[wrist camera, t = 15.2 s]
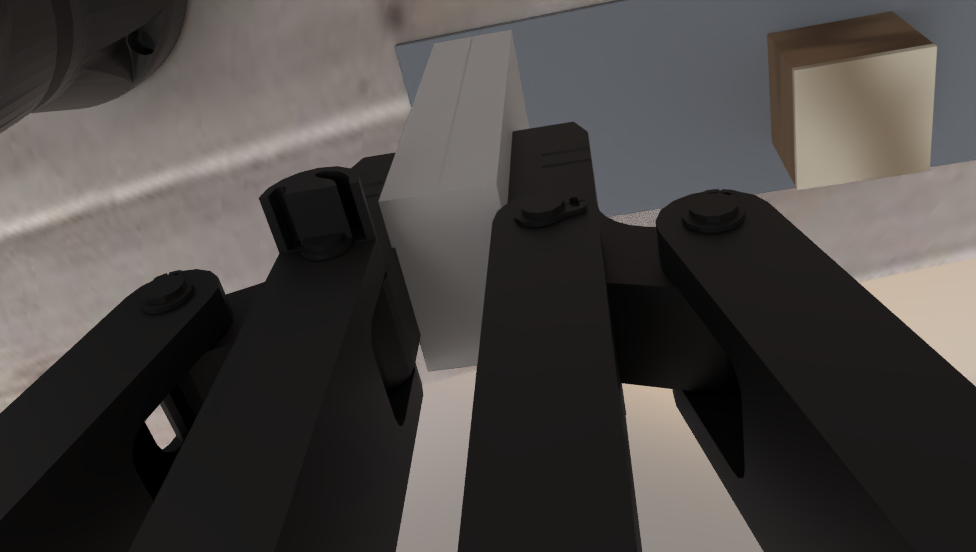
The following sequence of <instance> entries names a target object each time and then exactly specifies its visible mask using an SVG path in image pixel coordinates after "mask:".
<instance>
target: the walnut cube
mask: <svg viewBox="0 0 976 552" xmlns="http://www.w3.org/2000/svg"><path fill="white" fill-rule="evenodd" d="M767 43H768V66H769V90H770V113H771V137H772V144H773V146H774V147H775V149H776V151H777V153H778V155H779V157H780V159H781V161H782V163H783V164H784V166H785V168H786V170H787V172H788V174H789V176H790V178H791V179H792V181H793V183H794V185H795V187H796V189H797V190H802V189H809V188H816V187H823V186H829V185H836V184H843V183H850V182H856V181H863V180H870V179H877V178H884V177H890V176H897V175H904V174H911V173H917V172H924V171H930V157H931V140H932V123H933V107H934V90H935V74H936V57H937V46H936V45H935V44H934V43H932V42H931V41H930V40H929V39H927V38H926V37H925V36H923V35H922V34H921V33H920V32H918V31H917V30H916V29H914V28H913V27H912V26H911V25H909V24H908V23H907V22H905V21H904V20H903V19H902V18H900V17H899V16H898V15H896V14H895V13H894V12H893V11H890V12H884V13H879V14H873V15H868V16H862V17H857V18H851V19H846V20H840V21H835V22H829V23H824V24H818V25H813V26H807V27H801V28H796V29H790V30H785V31H779V32H774V33H768V34H767Z"/></svg>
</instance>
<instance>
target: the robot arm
mask: <svg viewBox="0 0 976 552" xmlns="http://www.w3.org/2000/svg"><path fill="white" fill-rule="evenodd" d="M186 2H187V0H0V133H2V132H3V131H5V130H6V129H8V128H9V127H11V126H12V125H14V124H15V123H17V122H18V121H20V120H21V119H23V118H24V117H25V116H27V115H28V114H30V113H38V112H50V111H61V110H73V109H82V108H88V107H92V106H97V105H100V104H103V103H106V102H108V101H111V100H113V99H115V98H118V97H120V96H121V95H123V94H125V93H127V92H128V91H130V90H131V89H132V88H134V87H135V86H137V85H138V84H139V83H141V82H142V81H143V80H145V79H146V78H147V77H149V76H150V75H151V74H152V73H153V72H154V71H155V70H156V69H157V68H158V67H159V66H160V65H161V64H162V63H163V62H164V60H165V59H166V58H167V56H168V55H169V53H170V52H171V50H172V48H173V47H174V45H175V43H176V41H177V38H178V36H179V34H180V31H181V28H182V24H183V20H184V16H185V10H186ZM259 200H260V203H261V205H262V208H263V211H264V213H265V216H266V219H267V221H268V224H269V227H270V229H271V232H272V235H273V237H274V240H275V242H276V245H277V248H278V250H279V255H278V257H277V259H276V261H275V263H274V265H273V267H272V269H271V271H270V273H269V275H268V277H267V279H266V281H265V282H263V283H260V284H258V285H255V286H251V287H248V288H245V289H242V290H239V291H236V292H233V293H229V294H226V295H225V292H224V290H223V288H222V285H221V283H220V281H219V278H218V277H217V276H216V275H215V274H213V273H212V272H211V271H206V270H199V269H194V270H186V271H181V270H178V271H173V272H169V275H167V273H166V274H163V275H160V276H158V277H156V278H154V280H153V281H151V282H149V283H147V284H145V285H143V286H141V287H140V288H138V289H137V290H136V291H134V292H133V293H132V294H130V295H129V296H128V297H126V298H125V299H124V300H123V301H122V302H121V303H120V304H119V305H118V306H116V307H115V308H114V309H113V310H112V311H111V312H110V313H109V314H108V315H107V316H106V317H105V318H103V319H102V320H101V321H100V322H99V323H98V324H97V325H96V326H95V327H94V328H93V329H91V330H90V331H89V332H88V333H87V334H86V335H85V336H84V337H83V338H82V339H81V340H80V341H78V342H77V343H76V344H75V345H74V346H73V347H72V348H71V349H70V350H69V351H68V352H67V353H65V354H64V355H63V356H62V357H61V358H60V359H59V360H58V361H57V362H56V363H55V364H53V365H52V366H51V367H50V368H49V369H48V370H47V371H46V372H45V373H44V374H43V375H42V376H40V377H39V378H38V379H37V380H36V381H35V382H34V383H33V384H32V385H31V386H30V387H29V388H27V389H26V390H25V391H24V392H23V393H22V394H21V395H20V396H19V397H18V398H17V399H16V400H14V401H13V402H12V403H11V404H10V405H9V406H8V407H7V408H6V409H5V410H4V411H2V412H1V413H0V552H396V547H397V541H398V535H399V530H400V523H401V518H402V512H403V507H404V501H405V495H406V490H407V484H408V478H409V473H410V467H411V461H412V455H413V450H414V444H415V438H416V432H417V427H418V421H419V415H420V410H421V404H422V398H423V390H422V383H421V379H420V376H419V373H418V369H417V366H416V363H415V361H416V356H417V351H418V346H419V342H420V345H421V349H422V352H423V355H424V359H425V362H426V366H427V369H428V371H436V370H444V369H453V368H461V367H469V366H477V373H476V383H475V392H474V401H473V410H472V420H471V430H470V439H469V448H468V458H467V468H466V477H465V487H464V496H463V505H462V516H461V525H460V535H459V543H458V552H642V546H641V538H640V530H639V522H638V514H637V506H636V498H635V489H634V481H633V473H632V466H631V457H630V449H629V441H628V432H627V424H626V416H625V415H626V410H625V404H624V396H623V389H622V383H625V384H634V385H643V386H652V387H660V388H669V389H673V394H674V398H675V402H676V406H677V408H678V409H679V411H680V413H681V414H682V416H683V418H684V419H685V421H686V423H687V424H688V426H689V428H690V429H691V431H692V433H693V434H694V436H695V438H696V439H697V441H698V443H699V444H700V446H701V448H702V449H703V451H704V453H705V454H706V456H707V457H708V459H709V461H710V463H711V464H712V466H713V468H714V469H715V471H716V473H717V474H718V476H719V478H720V479H721V481H722V483H723V484H724V486H725V488H726V489H727V491H728V493H729V494H730V496H731V498H732V500H733V501H734V503H735V505H736V506H737V508H738V510H739V511H740V513H741V515H742V516H743V518H744V519H745V521H746V523H747V525H748V526H749V528H750V530H751V531H752V533H753V535H754V536H755V538H756V540H757V541H758V543H759V545H760V546H761V548H762V549H763V551H764V552H976V387H975V386H974V385H973V384H972V383H971V382H970V381H969V380H967V379H966V378H965V377H964V376H963V375H962V374H961V373H960V372H958V371H957V370H956V369H955V368H954V367H953V366H952V365H951V364H950V363H948V362H947V361H946V360H945V359H944V358H943V357H942V356H941V355H939V354H938V353H937V352H936V351H935V350H934V349H933V348H932V347H930V346H929V345H928V344H927V343H926V342H925V341H924V340H922V339H921V338H920V337H919V336H918V335H917V334H916V333H915V332H913V331H912V330H911V329H910V328H909V327H908V326H906V324H905V323H903V322H902V321H901V320H900V319H899V318H898V317H897V316H896V315H894V314H893V313H892V312H891V311H890V310H889V309H888V308H887V307H885V306H884V305H883V304H882V303H881V302H880V301H879V300H878V299H876V298H875V297H874V296H873V295H872V294H871V293H870V292H869V291H867V290H866V289H865V288H864V287H863V286H862V285H861V284H859V283H858V282H857V281H856V280H855V279H854V278H853V277H852V276H850V275H849V274H848V273H847V272H846V271H845V270H844V269H843V268H841V267H840V266H839V265H838V264H837V263H836V262H835V261H834V260H832V259H831V258H830V257H829V256H828V255H827V254H826V253H825V252H823V251H822V250H821V249H820V248H819V247H818V246H817V245H816V244H814V243H813V242H812V241H811V240H810V239H809V238H808V237H807V236H805V235H804V234H803V233H802V232H801V231H800V230H799V229H798V228H796V227H795V226H794V225H793V224H792V223H791V222H790V221H789V220H787V219H786V218H785V217H784V216H783V215H782V214H781V213H780V212H778V211H777V210H776V209H775V208H774V207H773V206H772V205H771V204H769V203H768V202H766V201H765V200H763V199H761V198H759V197H757V196H756V195H753V194H748V193H744V192H739V191H735V190H730V189H722V190H719V189H711V190H706V191H704V192H700V193H694V194H690V195H687V196H685V197H682V198H679V199H677V200H674V201H672V202H671V203H670V204H668V205H667V206H666V207H664V208H663V209H662V210H661V211H660V213H659V215H658V217H657V219H656V227H643V226H633V225H627V224H623V223H619V222H616V221H614V220H612V219H610V218H608V217H606V216H605V215H604V214H603V213H602V212H601V211H600V210H599V207H598V200H597V193H596V185H595V178H594V171H593V164H592V157H591V150H590V143H589V136H588V132H587V131H586V130H585V129H583V128H582V127H580V126H579V125H578V124H576V123H575V122H574V121H573V122H567V123H561V124H555V125H548V126H542V127H536V128H530V129H529V124H528V119H527V113H526V108H525V102H524V96H523V91H522V85H521V80H520V74H519V68H518V63H517V57H516V52H515V46H514V40H513V35H512V30H507V31H501V32H495V33H490V34H484V35H479V36H473V37H468V38H462V39H457V40H451V41H445V42H440V43H434V46H433V48H432V51H431V54H430V57H429V60H428V63H427V65H426V68H425V71H424V74H423V77H422V80H421V82H420V85H419V88H418V91H417V94H416V97H415V99H414V102H413V105H412V108H411V111H410V114H409V116H408V119H407V122H406V125H405V128H404V131H403V133H402V136H401V139H400V142H399V145H398V148H397V150H396V153H390V154H384V155H378V156H372V157H365V158H363V159H361V160H360V161H359V162H358V163H357V164H356V165H354V166H353V167H352V168H344V167H338V166H336V167H323V168H317V169H313V170H308V171H304V172H300V173H298V174H295V175H293V176H290V177H288V178H285V179H283V180H281V181H279V182H278V183H276V184H274V185H273V186H271V187H270V188H268V189H267V190H266V191H265V192H264V193H263V194H262V195H261V196H260V197H259ZM159 404H160V405H161V407H162V409H163V411H164V413H165V414H166V416H167V418H168V420H169V422H170V424H171V426H172V428H173V430H174V432H175V434H176V437H175V438H174V439H173V441H172V442H171V443H170V444H169V445H168V446H167V447H165V448H164V449H163V450H162V449H161V448H160V447H159V446H158V445H157V444H156V442H155V440H154V438H153V436H152V435H151V433H150V431H149V429H148V427H147V425H146V423H145V422H144V421H145V420H146V419H147V418H148V417H149V416H150V415H151V413H152V412H153V411H154V410H155V409H156V408H157V407H158V405H159Z"/></svg>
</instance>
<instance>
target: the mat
mask: <svg viewBox="0 0 976 552" xmlns="http://www.w3.org/2000/svg"><path fill="white" fill-rule="evenodd" d="M890 11H893V12H894V13H895V14H896V15H898V16H899V17H900V18H902V19H903V20H904V21H905V22H907V23H908V24H909V25H911V26H912V27H913V28H914V29H916V30H917V31H918V32H920V33H921V34H922V35H923V36H925V37H926V38H927V39H929V40H930V41H931V42H932V43H934V44H935V45H936V46H937V57H936V74H935V90H934V107H933V123H932V140H931V157H930V167H933V166H939V165H946V164H952V163H959V162H965V161H972V160H976V0H617V1H612V2H607V3H602V4H597V5H592V6H587V7H582V8H577V9H572V10H567V11H562V12H557V13H552V14H547V15H542V16H537V17H532V18H527V19H522V20H517V21H512V22H507V23H502V24H497V25H492V26H487V27H482V28H477V29H472V30H467V31H462V32H457V33H452V34H447V35H442V36H437V37H432V38H427V39H422V40H417V41H412V42H407V43H402V44H397V45H396V46H395V49H396V53H397V57H398V60H399V64H400V67H401V71H402V75H403V78H404V82H405V86H406V89H407V93H408V97H409V100H410V104H411V107H412V105H413V102H414V99H415V97H416V94H417V91H418V88H419V85H420V82H421V80H422V77H423V74H424V71H425V68H426V65H427V63H428V60H429V57H430V54H431V51H432V48H433V46H434V43H440V42H445V41H451V40H457V39H462V38H468V37H473V36H479V35H484V34H490V33H495V32H501V31H507V30H512V35H513V40H514V46H515V52H516V57H517V63H518V68H519V74H520V80H521V85H522V91H523V96H524V102H525V108H526V113H527V119H528V124H529V129H530V128H536V127H542V126H548V125H555V124H561V123H567V122H573V121H574V122H575V123H576V124H578V125H579V126H580V127H582V128H583V129H585V130H586V131H587V132H588V136H589V143H590V150H591V157H592V164H593V171H594V178H595V185H596V193H597V200H598V207H599V210H600V211H601V212H602V213H603V214H604V215H605V216H606V217H609V216H615V215H622V214H628V213H635V212H641V211H648V210H654V209H660V208H664V207H666V206H667V205H668V204H670V203H671V202H672V201H674V200H677V199H679V198H682V197H685V196H687V195H690V194H694V193H700V192H704V191H706V190H711V189H719V190H722V189H730V190H735V191H739V192H744V193H748V194H758V193H764V192H771V191H777V190H784V189H790V188H796V187H795V185H794V183H793V181H792V179H791V178H790V176H789V174H788V172H787V170H786V168H785V166H784V164H783V163H782V161H781V159H780V157H779V155H778V153H777V151H776V149H775V147H774V146H773V144H772V137H771V113H770V90H769V66H768V43H767V34H768V33H774V32H779V31H785V30H790V29H796V28H801V27H807V26H813V25H818V24H824V23H829V22H835V21H840V20H846V19H851V18H857V17H862V16H868V15H873V14H879V13H884V12H890Z"/></svg>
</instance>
